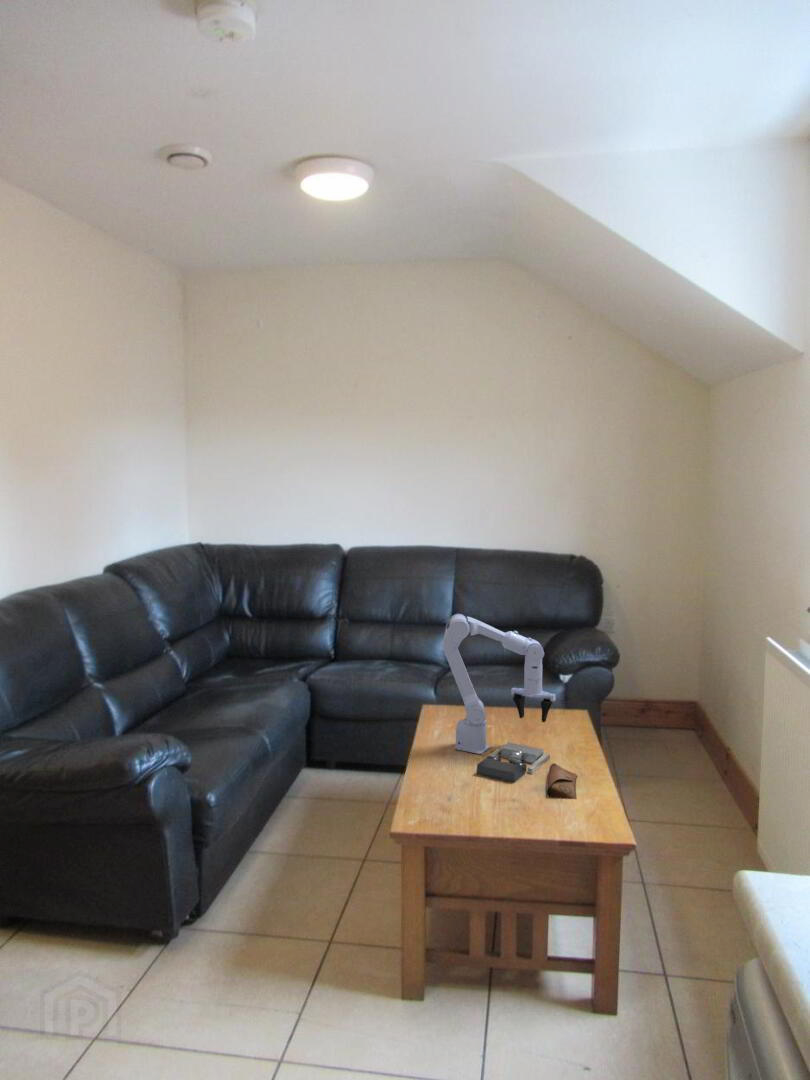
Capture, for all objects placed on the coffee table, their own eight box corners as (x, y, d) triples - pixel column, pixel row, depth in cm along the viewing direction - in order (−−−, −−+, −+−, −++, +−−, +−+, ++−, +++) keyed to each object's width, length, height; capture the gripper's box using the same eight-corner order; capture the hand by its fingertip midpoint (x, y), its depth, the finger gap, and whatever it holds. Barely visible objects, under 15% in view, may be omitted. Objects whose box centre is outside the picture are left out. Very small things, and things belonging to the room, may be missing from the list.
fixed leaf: (477, 774, 226) (477, 763, 226) (490, 764, 234) (490, 754, 234) (514, 782, 220) (514, 772, 220) (526, 772, 228) (526, 762, 227)
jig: (484, 763, 235) (484, 758, 235) (503, 749, 247) (503, 744, 247) (532, 773, 226) (532, 769, 226) (549, 758, 238) (549, 754, 238)
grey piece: (496, 759, 238) (496, 750, 237) (508, 751, 245) (508, 741, 245) (532, 767, 231) (532, 757, 231) (543, 758, 239) (543, 748, 239)
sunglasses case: (578, 799, 208) (566, 778, 209) (555, 810, 210) (543, 789, 210) (577, 774, 226) (566, 755, 226) (557, 784, 227) (545, 765, 228)
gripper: (507, 678, 245) (507, 719, 246) (550, 684, 237) (549, 726, 239) (516, 673, 251) (515, 713, 252) (558, 679, 243) (557, 720, 245)
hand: (532, 719), depth 246 cm, fingers open, 7 cm apart
